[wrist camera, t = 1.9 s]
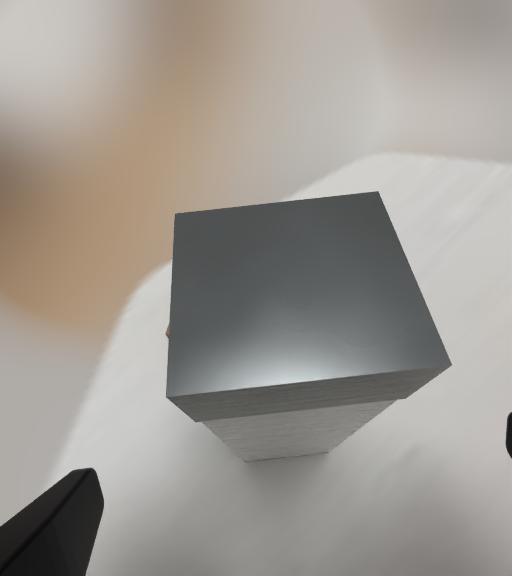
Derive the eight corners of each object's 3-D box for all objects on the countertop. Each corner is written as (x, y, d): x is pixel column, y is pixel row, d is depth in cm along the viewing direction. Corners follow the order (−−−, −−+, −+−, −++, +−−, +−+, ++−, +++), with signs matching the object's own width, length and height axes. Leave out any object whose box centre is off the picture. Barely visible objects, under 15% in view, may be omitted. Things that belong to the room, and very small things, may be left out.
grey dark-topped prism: (329, 453, 16) (452, 365, 5) (244, 463, 16) (165, 397, 5) (315, 379, 18) (378, 191, 7) (239, 387, 18) (175, 213, 7)
